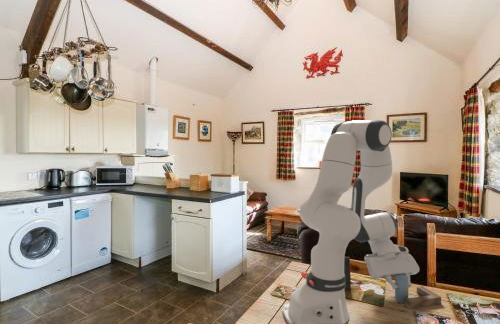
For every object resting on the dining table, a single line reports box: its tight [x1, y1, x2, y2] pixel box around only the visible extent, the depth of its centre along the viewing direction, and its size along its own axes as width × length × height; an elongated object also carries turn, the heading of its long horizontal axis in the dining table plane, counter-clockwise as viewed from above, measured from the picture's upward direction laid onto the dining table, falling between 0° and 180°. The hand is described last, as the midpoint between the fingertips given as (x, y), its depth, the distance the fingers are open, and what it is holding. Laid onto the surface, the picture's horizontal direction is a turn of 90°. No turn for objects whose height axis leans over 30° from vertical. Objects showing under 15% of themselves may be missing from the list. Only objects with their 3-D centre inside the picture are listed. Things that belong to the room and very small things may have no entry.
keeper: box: [394, 274, 409, 304], centre depth 102 cm, size 4×4×9 cm
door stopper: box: [344, 255, 352, 291], centre depth 115 cm, size 9×6×12 cm, turn 167°
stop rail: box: [404, 285, 442, 309], centre depth 102 cm, size 14×8×2 cm, turn 101°
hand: (402, 287), depth 101 cm, fingers closed on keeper, 4 cm apart
